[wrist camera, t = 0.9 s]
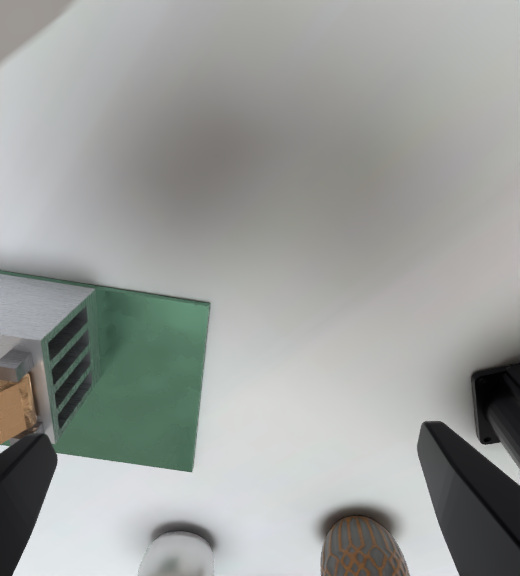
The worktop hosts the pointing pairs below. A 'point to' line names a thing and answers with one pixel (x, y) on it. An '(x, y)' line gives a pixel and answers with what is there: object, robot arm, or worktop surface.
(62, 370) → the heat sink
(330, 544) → the vase
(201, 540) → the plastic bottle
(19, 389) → the tan flat bar
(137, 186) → the worktop surface
